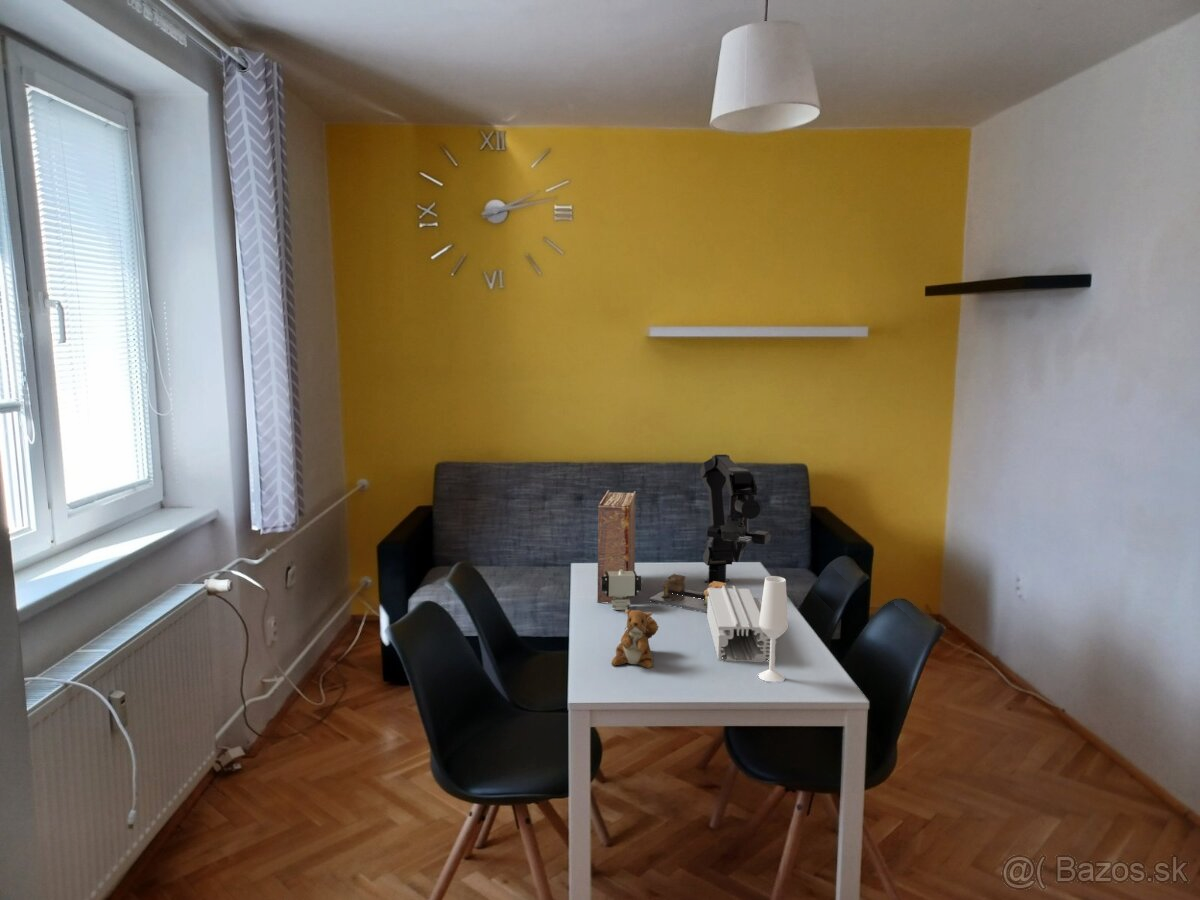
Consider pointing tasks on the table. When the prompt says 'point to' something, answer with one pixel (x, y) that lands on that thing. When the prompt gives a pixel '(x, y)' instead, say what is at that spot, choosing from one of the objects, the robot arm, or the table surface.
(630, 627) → the stuffed squirrel
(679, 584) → the fixed leg
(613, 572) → the pneumatic valve
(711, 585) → the sliding leg
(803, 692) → the table surface
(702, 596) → the rail
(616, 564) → the book
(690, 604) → the bolt-hole strip
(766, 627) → the champagne flute
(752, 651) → the aluminum extrusion profile
